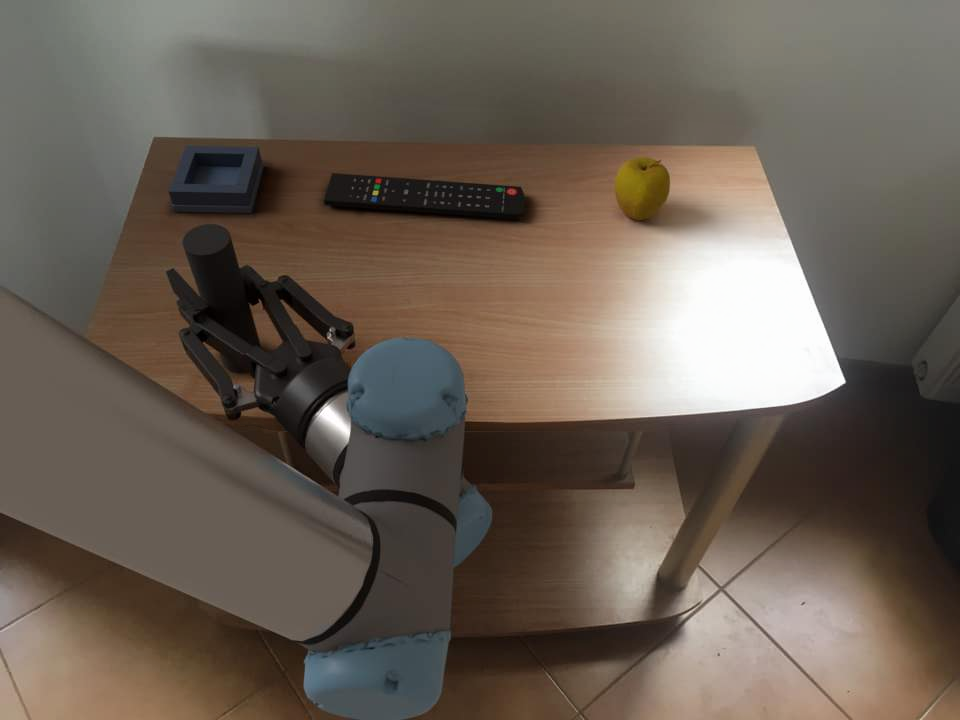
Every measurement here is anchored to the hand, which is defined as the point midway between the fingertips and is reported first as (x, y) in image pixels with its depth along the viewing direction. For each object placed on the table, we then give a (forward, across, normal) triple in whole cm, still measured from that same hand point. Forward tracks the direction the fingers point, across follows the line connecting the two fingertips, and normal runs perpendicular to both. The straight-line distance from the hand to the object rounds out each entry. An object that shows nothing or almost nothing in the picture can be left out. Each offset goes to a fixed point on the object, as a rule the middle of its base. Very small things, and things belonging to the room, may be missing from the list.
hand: (195, 269), depth 75 cm
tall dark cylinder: (-5, 0, -8) cm, 10 cm away
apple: (-16, +48, -9) cm, 52 cm away
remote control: (+2, +30, -9) cm, 31 cm away
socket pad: (+20, +12, -8) cm, 25 cm away
